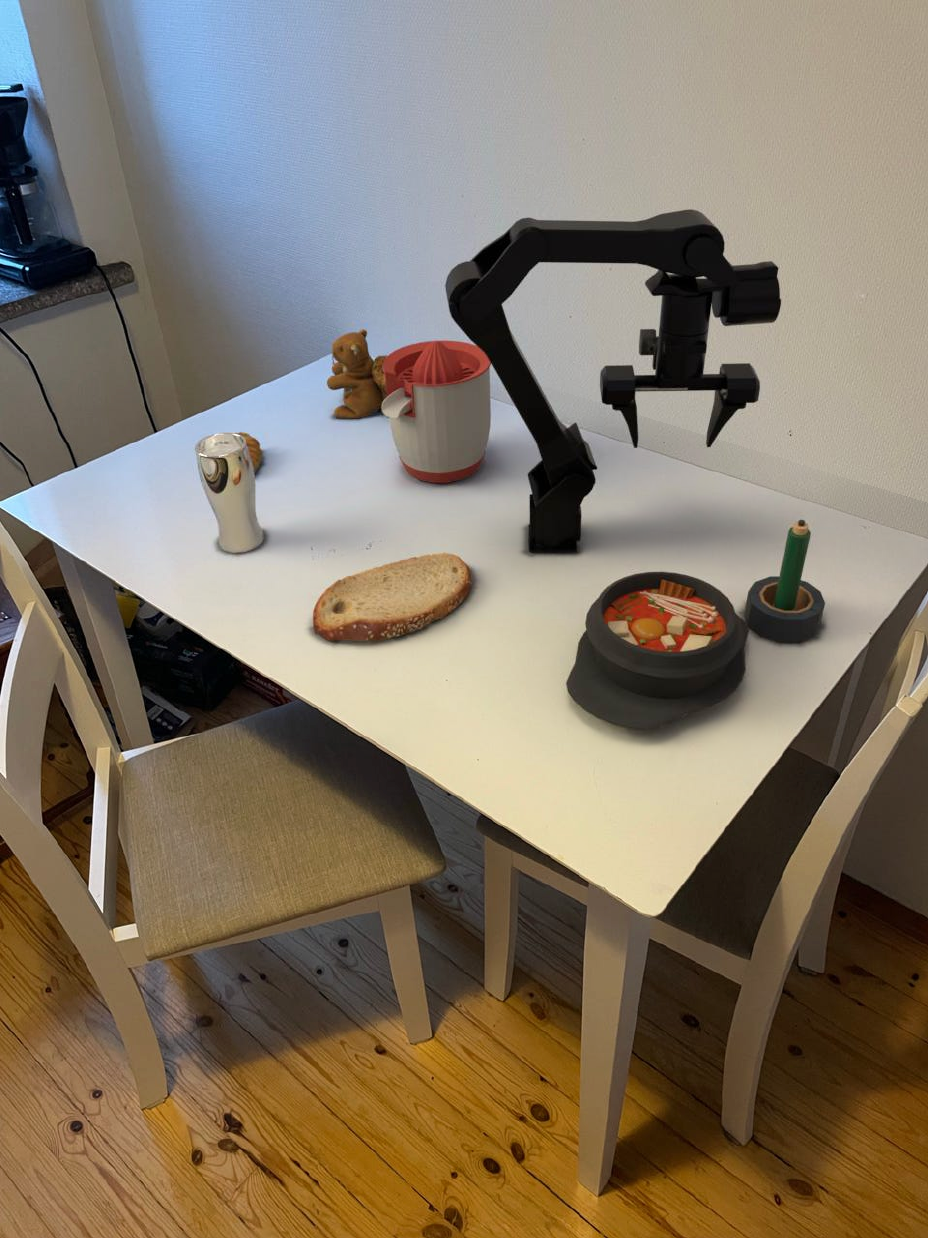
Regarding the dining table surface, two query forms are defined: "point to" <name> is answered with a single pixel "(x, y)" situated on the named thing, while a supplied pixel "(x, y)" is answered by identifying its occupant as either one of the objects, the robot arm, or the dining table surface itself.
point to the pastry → (253, 450)
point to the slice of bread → (392, 598)
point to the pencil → (792, 566)
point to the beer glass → (230, 489)
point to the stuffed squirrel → (357, 376)
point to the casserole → (657, 651)
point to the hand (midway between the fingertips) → (671, 446)
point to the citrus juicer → (439, 408)
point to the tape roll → (783, 612)
